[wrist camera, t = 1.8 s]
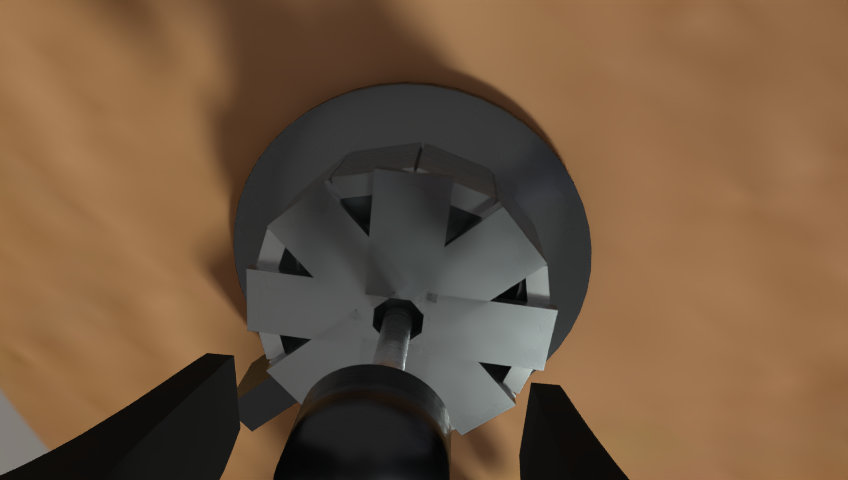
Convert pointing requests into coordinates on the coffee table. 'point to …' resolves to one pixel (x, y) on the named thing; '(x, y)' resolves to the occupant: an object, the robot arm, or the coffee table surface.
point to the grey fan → (409, 248)
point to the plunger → (371, 420)
